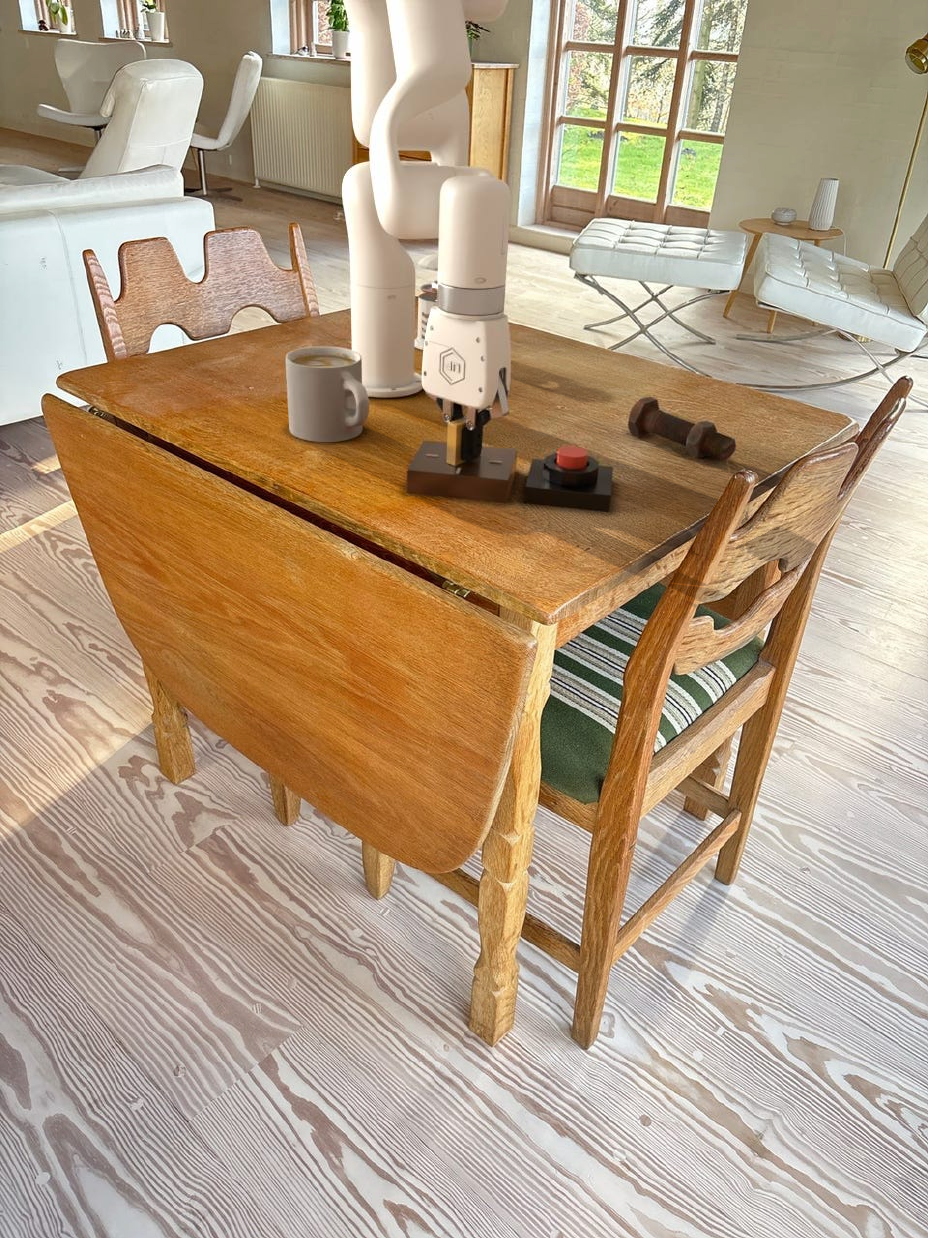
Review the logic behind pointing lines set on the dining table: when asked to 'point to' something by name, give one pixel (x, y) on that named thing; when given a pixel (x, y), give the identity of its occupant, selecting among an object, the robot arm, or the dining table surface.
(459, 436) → the gold slab
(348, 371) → the coffee mug
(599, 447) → the dining table surface
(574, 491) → the button box
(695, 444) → the bolt
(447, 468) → the plate
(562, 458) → the red button
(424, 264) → the french press
